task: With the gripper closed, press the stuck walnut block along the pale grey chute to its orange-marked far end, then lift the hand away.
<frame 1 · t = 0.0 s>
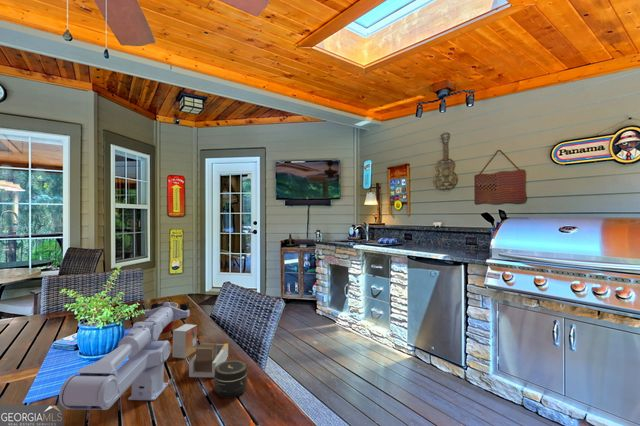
hand: (177, 304, 122), 22 cm above the table, tool horizontal, fingers open, 7 cm apart
plastic cup: (165, 330, 155), on the table
grey chute: (209, 366, 120), on the table
small box: (184, 354, 130), on the table
jar: (230, 391, 104), on the table
walnut block: (206, 357, 116), point 5 cm above the table, slide at 0.0 cm
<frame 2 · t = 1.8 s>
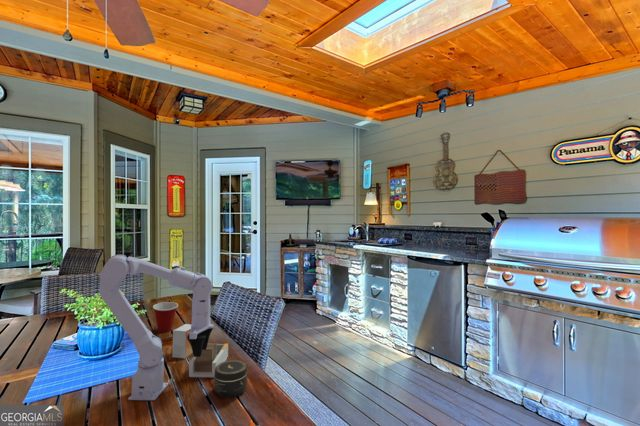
hand: (200, 352, 110), 9 cm above the table, tool pointing down, fingers open, 5 cm apart
nothing on the table moved.
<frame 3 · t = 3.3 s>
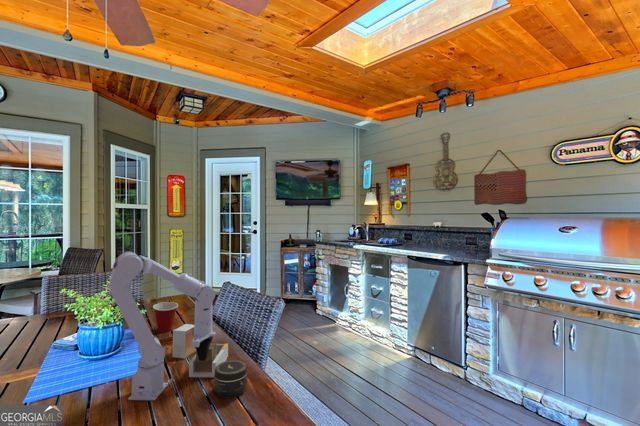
hand: (202, 359, 112), 6 cm above the table, tool pointing down, fingers closed
walnut block: (206, 357, 116), point 5 cm above the table, slide at 0.0 cm, touching gripper
everything else where it was.
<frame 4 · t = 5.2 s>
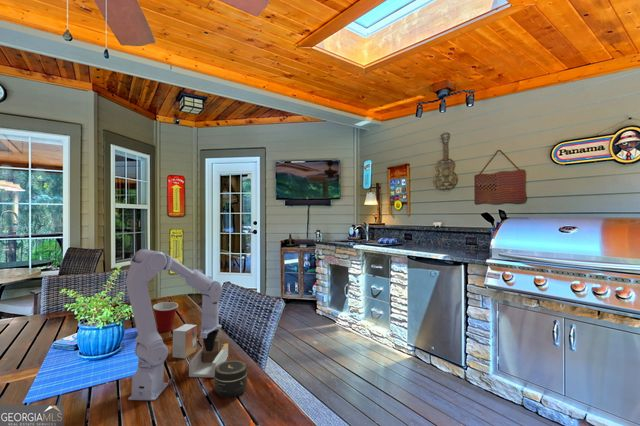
hand: (209, 350, 120), 6 cm above the table, tool pointing down, fingers closed
walnut block: (212, 348, 123), point 5 cm above the table, slide at 7.1 cm, touching gripper
everything else where it was.
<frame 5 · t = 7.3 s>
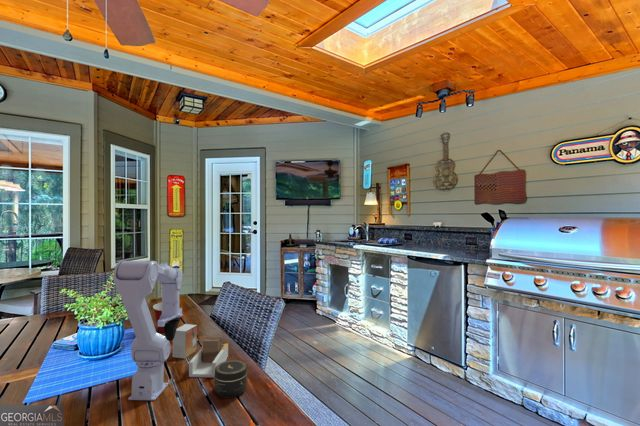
hand: (170, 339, 118), 10 cm above the table, tool pointing down, fingers closed
walnut block: (212, 348, 123), point 5 cm above the table, slide at 7.0 cm
everything else where it was.
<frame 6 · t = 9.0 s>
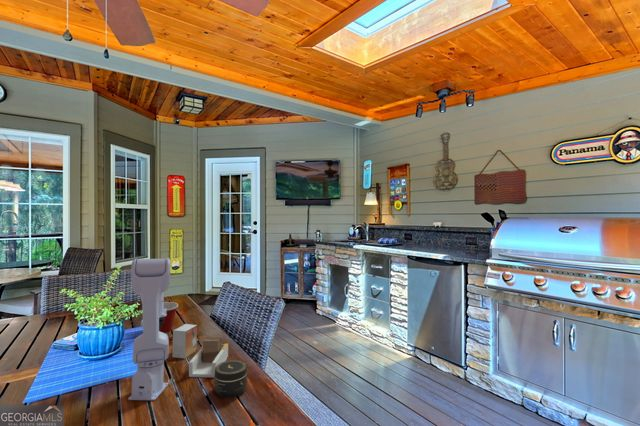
hand: (153, 339, 117), 10 cm above the table, tool pointing down, fingers closed
nothing on the table moved.
at the end: walnut block slide at 7.0 cm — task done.
